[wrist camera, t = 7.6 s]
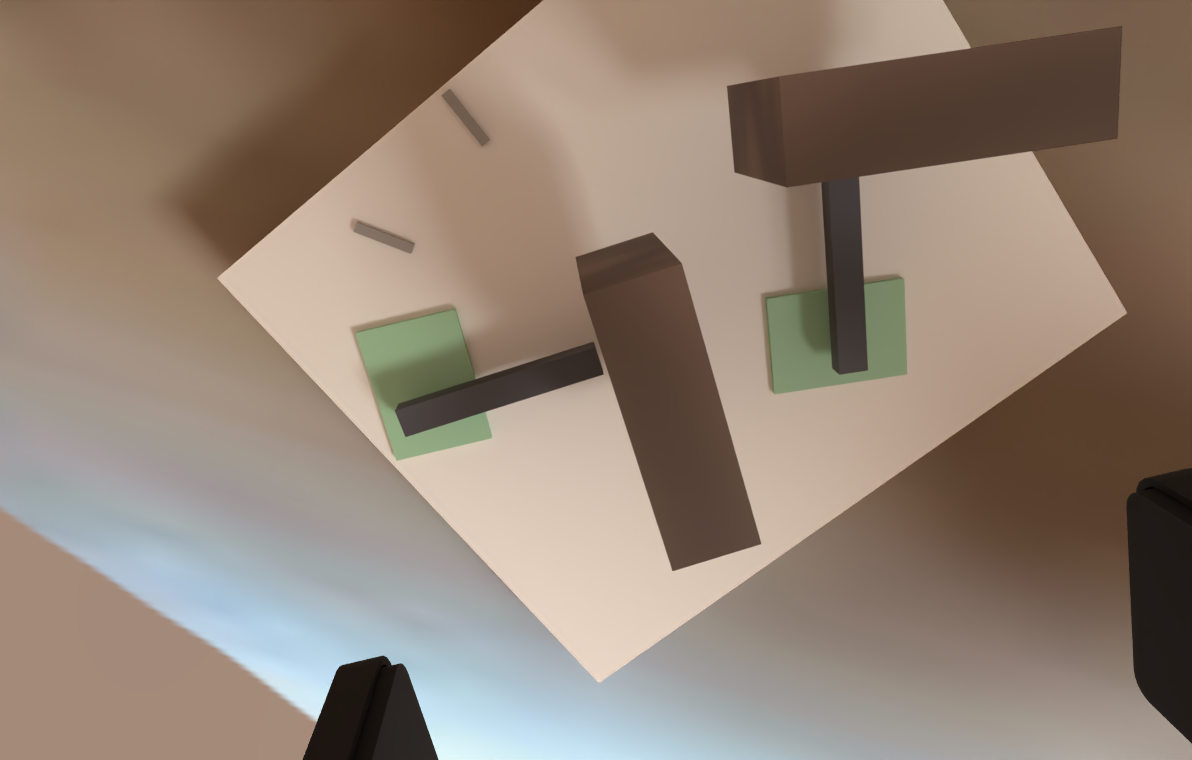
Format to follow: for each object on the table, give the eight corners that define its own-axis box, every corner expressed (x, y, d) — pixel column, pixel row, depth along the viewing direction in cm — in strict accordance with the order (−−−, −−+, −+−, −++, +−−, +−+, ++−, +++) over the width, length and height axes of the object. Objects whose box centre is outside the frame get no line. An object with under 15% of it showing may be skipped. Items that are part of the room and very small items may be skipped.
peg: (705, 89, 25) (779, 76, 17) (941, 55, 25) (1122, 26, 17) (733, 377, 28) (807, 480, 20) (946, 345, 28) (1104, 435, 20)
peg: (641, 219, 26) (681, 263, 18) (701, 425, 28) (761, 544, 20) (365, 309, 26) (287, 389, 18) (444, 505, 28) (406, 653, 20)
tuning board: (1073, 294, 31) (1132, 314, 28) (594, 635, 34) (599, 687, 31) (780, -188, 26) (812, -231, 23) (249, 262, 29) (214, 279, 26)
